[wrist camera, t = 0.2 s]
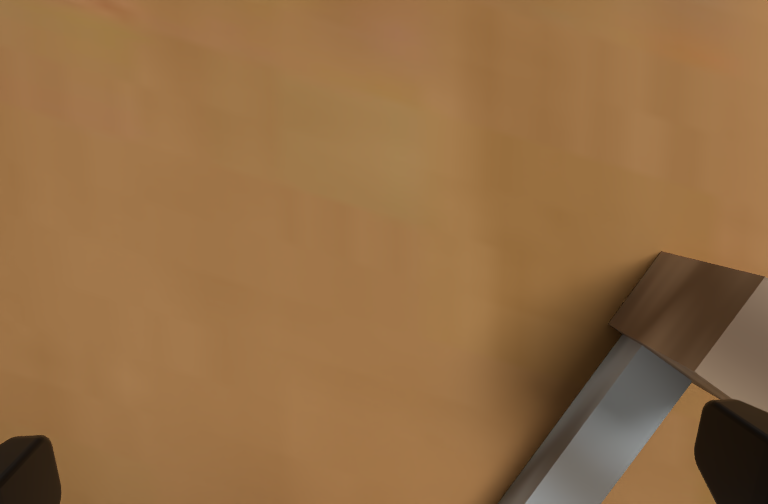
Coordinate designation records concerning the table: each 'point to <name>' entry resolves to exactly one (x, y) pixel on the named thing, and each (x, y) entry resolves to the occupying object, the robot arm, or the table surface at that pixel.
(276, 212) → the table surface
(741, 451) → the robot arm
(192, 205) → the table surface
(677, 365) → the taupe block mallet
